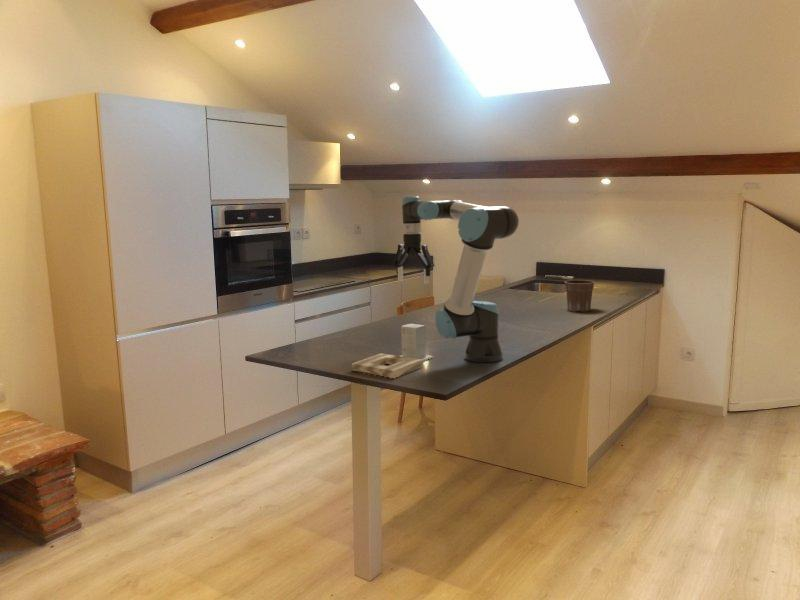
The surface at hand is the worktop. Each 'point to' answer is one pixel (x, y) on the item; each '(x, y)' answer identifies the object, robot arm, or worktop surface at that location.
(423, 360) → the ceramic tile
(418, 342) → the small box
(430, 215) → the robot arm
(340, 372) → the worktop surface
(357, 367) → the pocket block
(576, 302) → the plant pot
